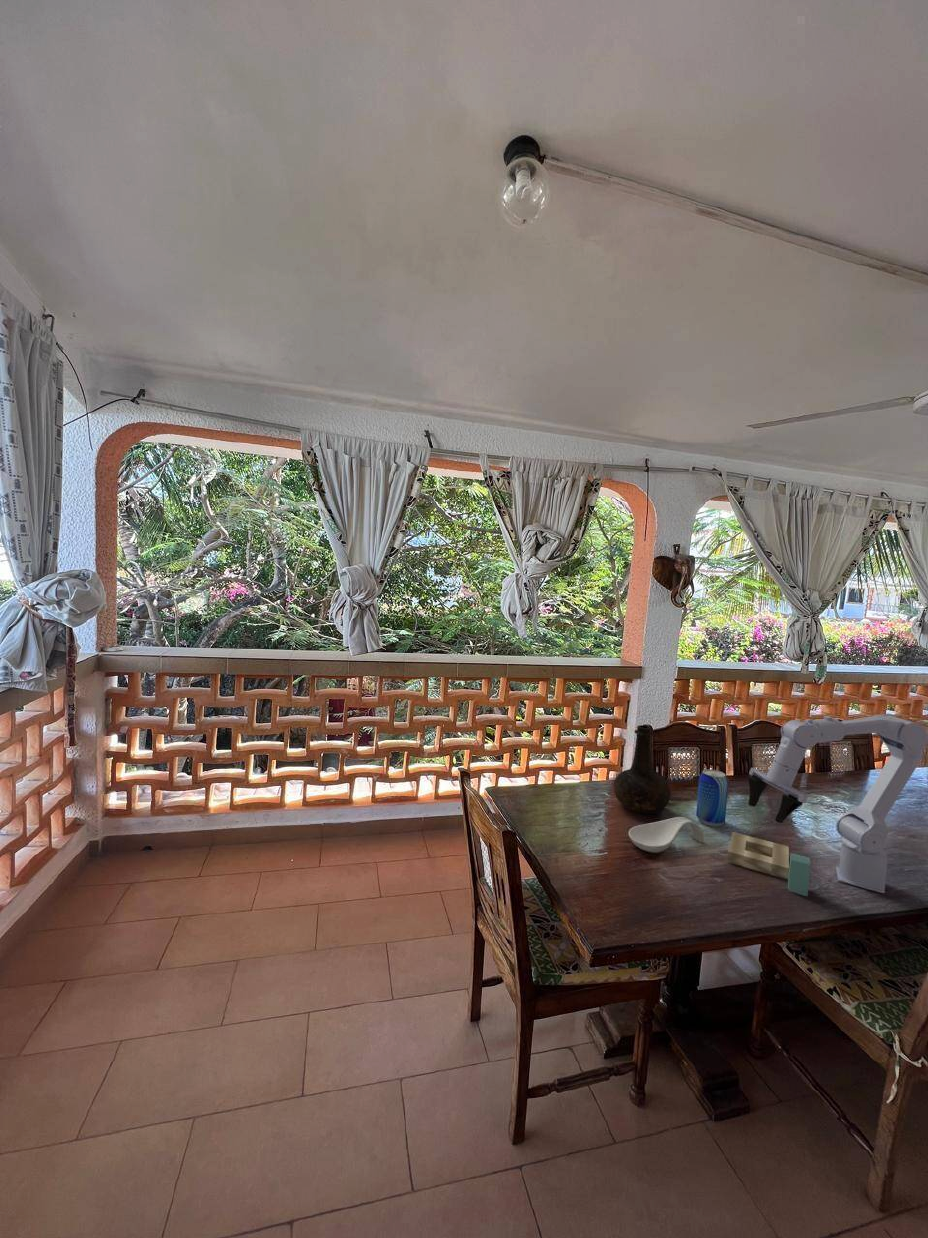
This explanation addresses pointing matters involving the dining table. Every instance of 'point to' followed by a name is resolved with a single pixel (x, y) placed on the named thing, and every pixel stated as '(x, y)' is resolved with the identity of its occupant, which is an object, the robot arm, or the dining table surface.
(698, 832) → the spoon rest
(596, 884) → the dining table surface
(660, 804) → the glass bottle
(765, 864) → the board
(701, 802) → the beer can
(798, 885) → the teal block
